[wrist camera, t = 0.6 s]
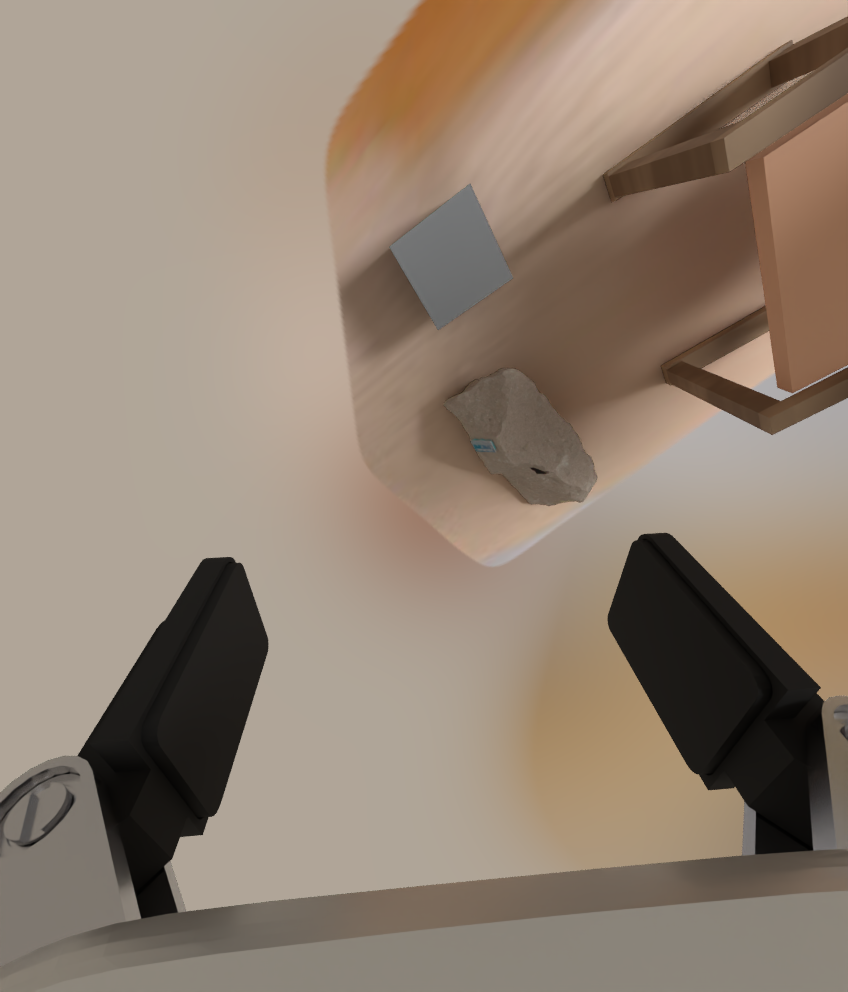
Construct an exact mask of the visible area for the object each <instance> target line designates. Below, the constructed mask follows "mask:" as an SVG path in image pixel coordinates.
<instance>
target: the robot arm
mask: <svg viewBox="0 0 848 992" xmlns="http://www.w3.org/2000/svg"><path fill="white" fill-rule="evenodd" d="M608 625H609V629H610V631H611V632H612V634H613V636H614V638H615V639H616V641H617V643H618V645H619V647H620V648H621V650H622V652H623V654H624V655H625V657H626V659H627V661H628V662H629V664H630V666H631V668H632V669H633V671H634V673H635V675H636V676H637V678H638V680H639V682H640V683H641V685H642V687H643V689H644V690H645V692H646V694H647V696H648V697H649V699H650V701H651V702H652V704H653V706H654V708H655V710H656V711H657V713H658V715H659V717H660V718H661V720H662V722H663V724H664V725H665V727H666V729H667V731H668V732H669V734H670V736H671V737H672V739H673V741H674V743H675V745H676V746H677V748H678V750H679V752H680V753H681V755H682V757H683V758H684V760H685V762H686V764H687V765H688V767H689V768H690V769H691V770H692V771H693V772H694V773H696V774H699V775H700V777H701V779H702V780H703V782H704V784H705V786H706V787H707V789H708V790H717V789H728V788H734V787H736V788H737V790H738V792H739V793H740V795H741V796H742V798H743V799H744V802H745V803H744V824H743V847H742V856H732V857H722V858H711V859H700V860H688V861H678V862H667V863H657V864H645V865H635V866H623V867H613V868H601V869H591V870H580V871H570V872H560V873H549V874H539V875H530V876H520V877H519V876H518V877H508V878H498V879H488V880H477V881H467V882H457V883H446V884H436V885H426V886H416V887H406V888H396V889H386V890H377V891H367V892H357V893H347V894H337V895H328V896H318V897H308V898H298V899H289V900H279V901H269V902H261V903H253V904H245V905H236V906H228V907H221V908H213V909H204V910H196V911H188V912H186V909H185V906H184V902H183V899H182V896H181V893H180V890H179V887H178V884H177V880H176V877H175V874H174V871H173V868H172V865H171V862H170V860H171V859H172V858H173V855H174V852H175V849H176V846H177V844H178V841H179V838H180V837H184V836H195V835H203V832H204V829H205V826H206V823H207V820H208V817H212V816H214V815H215V814H216V813H217V810H218V809H219V806H220V804H221V801H222V798H223V794H224V791H225V788H226V784H227V781H228V778H229V775H230V772H231V769H232V765H233V762H234V759H235V755H236V753H237V749H238V746H239V743H240V740H241V736H242V733H243V730H244V727H245V724H246V720H247V717H248V714H249V711H250V707H251V704H252V701H253V698H254V695H255V691H256V688H257V685H258V682H259V678H260V675H261V672H262V669H263V666H264V662H265V659H266V656H267V652H268V637H267V634H266V631H265V628H264V626H263V622H262V620H261V617H260V614H259V611H258V608H257V605H256V602H255V599H254V597H253V593H252V590H251V588H250V585H249V582H248V579H247V576H246V573H245V570H244V567H243V565H242V564H241V563H236V562H235V560H234V559H233V558H231V557H223V558H206V559H204V560H203V561H202V562H201V563H200V565H199V566H198V568H197V570H196V571H195V573H194V574H193V576H192V578H191V579H190V581H189V582H188V584H187V586H186V587H185V589H184V591H183V592H182V594H181V596H180V597H179V599H178V600H177V602H176V604H175V605H174V607H173V608H172V610H171V612H170V613H169V615H168V617H167V618H166V620H165V621H163V622H162V623H161V624H160V625H159V627H158V628H157V629H156V631H155V632H154V634H153V635H152V637H151V639H150V640H149V642H148V643H147V645H146V647H145V648H144V650H143V651H142V653H141V655H140V657H139V658H138V660H137V661H136V663H135V665H134V666H133V668H132V669H131V671H130V672H129V674H128V676H127V678H126V679H125V680H124V682H123V684H122V685H121V687H120V688H119V690H118V692H117V693H116V695H115V697H114V698H113V700H112V701H111V703H110V704H109V706H108V708H107V709H106V711H105V713H104V714H103V716H102V717H101V719H100V721H99V722H98V724H97V725H96V727H95V728H94V730H93V732H92V733H91V735H90V736H89V738H88V740H87V741H86V743H85V745H84V746H83V748H82V749H81V751H80V753H79V754H78V756H62V757H58V758H55V759H51V760H48V761H46V762H44V763H42V764H40V765H38V766H36V767H34V768H31V769H30V770H28V771H27V772H25V773H24V774H22V775H21V776H20V777H18V778H17V779H15V780H14V781H13V782H11V783H10V784H9V785H8V786H7V787H6V788H5V789H4V790H3V791H2V792H0V992H848V697H847V696H835V697H830V698H828V699H827V700H826V701H825V702H824V701H823V699H822V698H821V697H820V696H819V695H818V694H817V691H818V690H819V689H820V688H821V687H820V686H819V685H818V684H817V683H816V682H815V681H814V680H813V679H812V678H811V677H810V676H809V675H808V674H807V673H806V672H805V671H804V670H803V669H802V668H801V667H800V666H799V665H798V664H797V663H796V662H795V661H794V660H793V659H792V658H791V657H790V656H789V655H788V654H787V653H786V652H785V651H784V650H783V649H782V648H781V646H780V645H779V644H777V642H775V640H774V639H773V638H772V637H771V636H770V635H769V634H768V633H767V632H766V631H765V630H764V629H763V628H762V627H761V626H760V625H759V624H758V623H757V622H756V621H755V620H754V619H753V618H752V617H751V616H750V615H749V614H748V613H747V612H746V611H745V610H744V609H743V608H742V607H741V606H740V605H739V604H738V602H737V601H736V600H735V599H734V598H733V597H731V596H730V594H729V593H728V592H727V591H726V590H725V589H724V588H723V587H722V586H721V585H720V584H719V583H718V582H717V581H716V580H715V579H714V578H713V577H712V576H711V575H710V574H709V573H708V572H707V571H706V570H705V569H704V568H703V567H702V566H701V565H700V564H699V563H698V562H697V561H696V560H695V559H694V558H693V556H691V554H690V553H689V552H688V551H687V550H686V549H685V548H684V547H683V546H682V545H681V544H680V543H679V542H678V541H677V540H676V539H675V538H674V537H673V536H672V535H670V534H668V533H656V534H643V535H641V536H640V537H639V538H638V540H637V541H634V542H633V543H632V545H631V548H630V551H629V554H628V557H627V560H626V563H625V566H624V569H623V572H622V575H621V578H620V581H619V584H618V587H617V590H616V593H615V596H614V599H613V602H612V605H611V608H610V611H609V614H608Z"/></svg>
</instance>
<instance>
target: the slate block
mask: <svg viewBox="0 0 848 992" xmlns="http://www.w3.org/2000/svg"><path fill="white" fill-rule="evenodd" d="M389 248H390V249H391V251H392V253H393V254H394V256H395V258H396V260H397V261H398V263H399V265H400V266H401V268H402V270H403V271H404V273H405V275H406V277H407V278H408V280H409V282H410V283H411V285H412V287H413V288H414V290H415V292H416V294H417V295H418V297H419V299H420V300H421V302H422V304H423V305H424V307H425V309H426V311H427V312H428V314H429V316H430V317H431V319H432V321H433V323H434V324H435V326H436V328H437V329H438V330H439V329H441V328H442V327H444V326H445V325H446V324H448V323H449V322H451V321H452V320H454V319H455V318H457V317H458V316H459V315H461V314H462V313H464V312H465V311H467V310H468V309H470V308H471V307H472V306H474V305H475V304H477V303H478V302H480V301H481V300H483V299H484V298H485V297H487V296H488V295H490V294H491V293H493V292H494V291H496V290H497V289H498V288H500V287H501V286H503V285H504V284H506V283H507V282H509V281H510V280H511V279H513V276H512V274H511V272H510V270H509V268H508V265H507V263H506V261H505V259H504V257H503V254H502V252H501V250H500V248H499V246H498V243H497V241H496V239H495V237H494V235H493V233H492V230H491V228H490V226H489V224H488V222H487V219H486V217H485V215H484V213H483V211H482V208H481V206H480V204H479V202H478V200H477V197H476V195H475V193H474V191H473V189H472V186H471V184H469V185H467V186H466V187H465V188H464V189H462V190H461V191H460V192H459V193H457V194H456V195H455V196H453V197H452V198H451V199H450V200H448V201H447V202H446V203H445V204H443V205H442V206H441V207H439V208H438V209H437V210H436V211H434V212H433V213H432V214H430V215H429V216H428V217H427V218H425V219H424V220H423V221H422V222H420V223H419V224H418V225H416V226H415V227H414V228H413V229H411V230H410V231H409V232H408V233H406V234H405V235H404V236H402V237H401V238H400V239H399V240H397V241H396V242H395V243H393V244H392V245H391V246H390V247H389Z"/></svg>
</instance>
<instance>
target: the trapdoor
mask: <svg viewBox="0 0 848 992" xmlns="http://www.w3.org/2000/svg"><path fill="white" fill-rule="evenodd" d="M745 164H746V171H747V178H748V185H749V192H750V199H751V206H752V213H753V220H754V227H755V234H756V241H757V248H758V255H759V262H760V269H761V276H762V283H763V290H764V297H765V304H766V311H767V318H768V325H769V332H770V339H771V346H772V353H773V360H774V367H775V374H776V380H777V387H778V388H780V389H783V390H785V391H788V392H791V393H794V392H796V391H798V390H800V389H802V388H804V387H805V386H807V385H809V384H811V383H813V382H815V381H817V380H819V379H821V378H823V377H825V376H827V375H829V374H831V373H833V372H835V371H837V370H839V369H841V368H843V367H844V366H847V365H848V94H846V95H845V96H843V97H842V98H840V99H839V100H837V101H836V102H834V103H833V104H831V105H830V106H828V107H827V108H825V109H824V110H822V111H821V112H819V113H818V114H816V115H815V116H813V117H812V118H810V119H809V120H807V121H806V122H804V123H803V124H801V125H800V126H798V127H797V128H795V129H794V130H792V131H791V132H789V133H788V134H786V135H785V136H783V137H782V138H780V139H779V140H777V141H776V142H774V143H773V144H771V145H770V146H768V147H767V148H765V149H764V150H762V151H761V152H759V153H758V154H756V155H755V156H753V157H752V158H750V159H749V160H747V161H746V162H745Z"/></svg>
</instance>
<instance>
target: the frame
mask: <svg viewBox="0 0 848 992" xmlns="http://www.w3.org/2000/svg"><path fill="white" fill-rule="evenodd" d="M813 70H814V71H813ZM811 71H813V72H812V73H810V74H809V75H807V76H806V77H804V78H803V79H801V80H800V81H798V82H797V83H796V84H794V85H793V86H791V87H790V88H788V89H787V90H785V91H784V92H783V93H781V94H780V95H778V96H777V97H775V98H774V99H772V100H771V101H770V102H768V103H767V104H765V105H764V106H762V107H761V108H759V109H758V110H757V111H755V112H754V113H752V114H751V115H749V116H748V117H746V118H745V119H744V120H742V121H740V122H737V123H735V124H732V125H729V126H726V127H724V128H722V127H723V126H725V125H726V124H727V123H729V122H730V121H732V120H733V119H735V118H736V117H737V116H739V115H740V114H742V113H743V112H745V111H746V110H748V109H749V108H750V107H752V106H753V105H755V104H756V103H758V102H759V101H760V100H762V99H763V98H765V97H766V96H768V95H769V94H770V93H772V92H773V91H775V90H776V89H778V88H779V87H781V86H782V85H783V84H785V83H786V82H788V81H790V80H792V79H794V78H797V77H799V76H801V75H804V74H806V73H809V72H811ZM847 93H848V17H846V18H844V19H842V20H840V21H838V22H836V23H834V24H832V25H830V26H828V27H826V28H824V29H822V30H820V31H818V32H816V33H814V34H812V35H810V36H809V37H807V38H805V39H803V40H801V41H799V42H797V43H795V44H793V42H792V40H791V41H789V42H787V43H785V44H784V45H782V46H781V47H779V48H778V49H776V50H775V51H774V52H772V53H771V54H770V55H768V56H767V57H765V58H764V59H763V60H761V61H760V62H758V63H757V64H756V65H754V66H753V67H751V68H750V69H749V70H747V71H746V72H745V73H743V74H742V75H740V76H739V77H738V78H736V79H735V80H733V81H732V82H731V83H729V84H728V85H726V86H725V87H724V88H722V89H721V90H720V91H718V92H717V93H715V94H714V95H713V96H711V97H710V98H708V99H707V100H706V101H704V102H703V103H701V104H700V105H699V106H697V107H696V108H695V109H693V110H692V111H690V112H689V113H688V114H686V115H685V116H683V117H682V118H681V119H679V120H678V121H676V122H675V123H674V124H672V125H671V126H669V127H668V128H667V129H665V130H664V131H663V132H661V133H660V134H658V135H657V136H656V137H654V138H653V139H651V140H650V141H649V142H647V143H646V144H644V145H643V146H642V147H640V148H639V149H638V150H636V151H635V152H633V153H632V154H631V155H629V156H628V157H626V158H625V159H624V160H622V161H621V162H619V163H618V164H617V165H615V166H614V167H613V168H611V169H610V170H608V171H607V172H606V173H604V174H603V176H604V180H605V183H606V186H607V190H608V193H609V196H610V199H611V202H614V201H617V200H618V199H620V198H621V197H623V196H625V195H629V194H634V193H638V192H643V191H647V190H651V189H656V188H660V187H665V186H669V185H674V184H678V183H683V182H687V181H691V180H696V179H700V178H705V177H709V176H714V175H718V174H723V173H727V172H730V171H732V170H733V169H735V168H736V167H738V166H739V165H741V164H742V163H744V162H745V161H747V160H748V159H750V158H751V157H753V156H754V155H756V154H757V153H759V152H760V151H762V150H763V149H765V148H766V147H768V146H769V145H771V144H772V143H774V142H775V141H777V140H778V139H780V138H781V137H783V136H784V135H786V134H787V133H789V132H790V131H792V130H793V129H795V128H796V127H798V126H799V125H801V124H802V123H804V122H805V121H807V120H808V119H810V118H811V117H813V116H814V115H816V114H817V113H819V112H820V111H822V110H823V109H825V108H826V107H828V106H829V105H831V104H832V103H834V102H835V101H837V100H838V99H840V98H841V97H843V96H844V95H846V94H847ZM720 128H721V129H720ZM768 331H769V325H768V318H767V311H766V306H765V307H763V308H761V309H760V310H758V311H756V312H754V313H753V314H751V315H749V316H747V317H746V318H744V319H742V320H740V321H739V322H737V323H735V324H733V325H732V326H730V327H728V328H726V329H725V330H723V331H721V332H719V333H718V334H716V335H714V336H712V337H711V338H709V339H707V340H705V341H704V342H702V343H700V344H698V345H697V346H695V347H693V348H691V349H690V350H688V351H686V352H684V353H683V354H681V355H679V356H677V357H676V358H674V359H672V360H670V361H668V362H667V363H665V364H663V365H661V368H662V371H663V375H664V378H665V381H666V383H667V384H669V385H674V386H676V387H678V388H680V389H682V390H684V391H686V392H688V393H690V394H692V395H694V396H696V397H698V398H700V399H702V400H704V401H706V402H708V403H710V404H712V405H714V406H716V407H718V408H720V409H722V410H724V411H726V412H728V413H730V414H732V415H734V416H736V417H738V418H740V419H741V420H743V421H745V422H748V423H749V424H751V425H753V426H755V427H757V428H759V429H761V430H763V431H765V432H767V433H770V434H771V435H773V434H775V433H777V432H779V431H781V430H783V429H785V428H787V427H789V426H791V425H794V424H796V423H797V422H800V421H802V420H804V419H806V418H808V417H810V416H812V415H813V414H816V413H818V412H820V411H822V410H824V409H826V408H828V407H830V406H832V405H834V404H836V403H838V402H840V401H842V400H844V399H846V398H848V368H845V369H843V370H842V371H840V372H838V373H836V374H834V375H832V376H830V377H828V378H826V379H824V380H822V381H820V382H818V383H816V384H814V385H812V386H810V387H808V388H806V389H804V390H802V391H800V392H799V393H796V394H794V395H792V396H790V397H788V398H786V399H784V400H782V401H779V400H776V399H774V398H771V397H769V396H766V395H764V394H762V393H759V392H756V391H754V390H752V389H749V388H747V387H744V386H742V385H739V384H737V383H734V382H732V381H730V380H727V379H725V378H722V377H720V376H717V375H715V374H712V373H710V372H707V371H705V370H702V369H701V368H703V367H705V366H706V365H708V364H710V363H712V362H714V361H716V360H717V359H719V358H721V357H723V356H725V355H726V354H728V353H730V352H732V351H734V350H735V349H737V348H739V347H741V346H743V345H744V344H746V343H748V342H750V341H752V340H753V339H755V338H757V337H759V336H761V335H762V334H764V333H766V332H768Z"/></svg>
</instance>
